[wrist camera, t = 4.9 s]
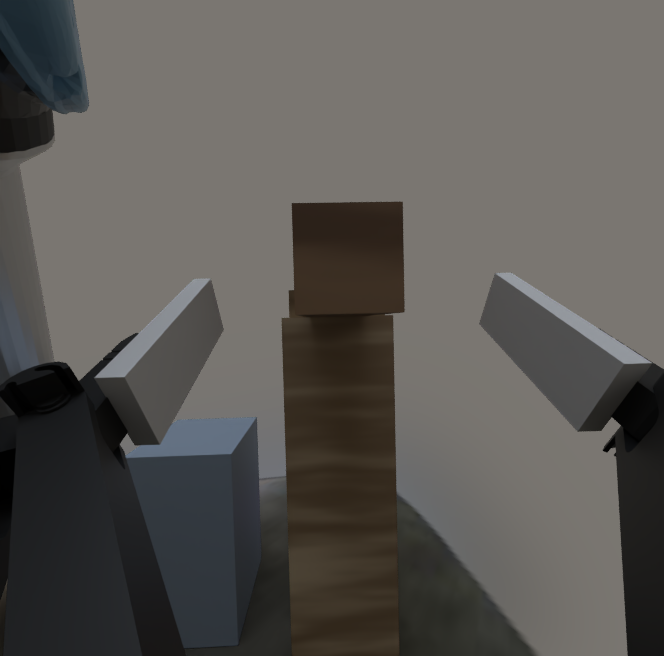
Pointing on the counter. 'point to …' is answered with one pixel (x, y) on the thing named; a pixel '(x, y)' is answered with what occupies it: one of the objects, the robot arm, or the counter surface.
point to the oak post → (341, 484)
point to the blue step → (203, 522)
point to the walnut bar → (348, 258)
